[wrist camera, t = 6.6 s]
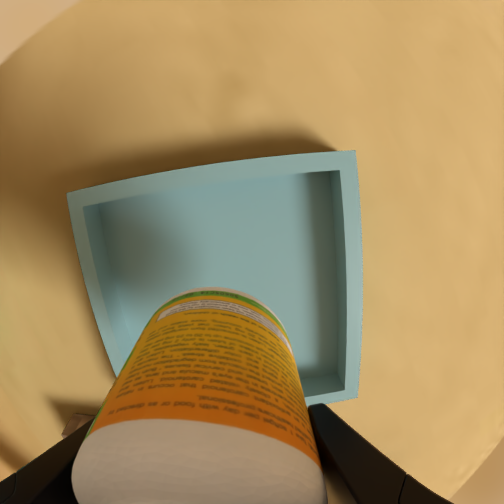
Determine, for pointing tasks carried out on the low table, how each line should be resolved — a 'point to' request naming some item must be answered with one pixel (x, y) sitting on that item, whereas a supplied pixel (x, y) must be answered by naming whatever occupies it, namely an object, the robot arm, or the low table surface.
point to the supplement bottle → (204, 413)
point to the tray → (234, 253)
